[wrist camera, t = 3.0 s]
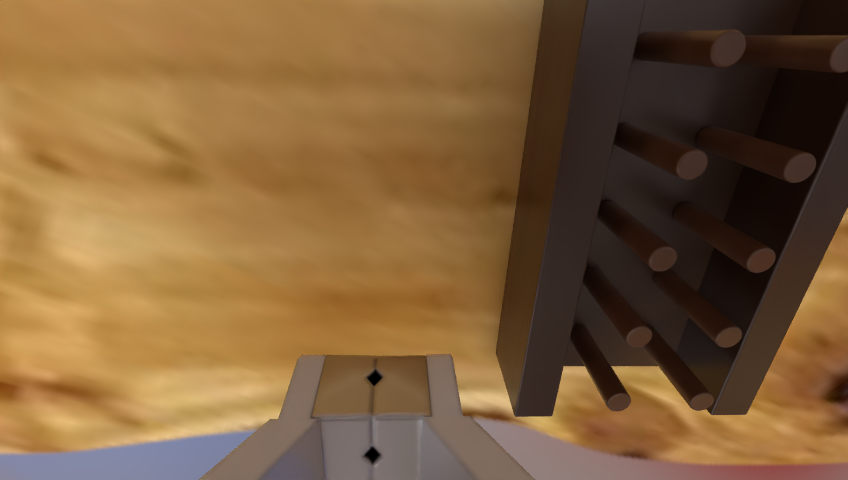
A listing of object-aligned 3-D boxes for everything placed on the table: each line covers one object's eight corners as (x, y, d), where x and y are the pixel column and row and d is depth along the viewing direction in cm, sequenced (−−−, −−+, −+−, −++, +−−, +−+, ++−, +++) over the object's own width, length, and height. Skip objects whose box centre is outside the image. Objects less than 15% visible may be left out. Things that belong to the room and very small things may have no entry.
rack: (495, 352, 21) (521, 442, 17) (547, -24, 14) (616, -53, 10) (690, 352, 22) (768, 439, 17) (827, -10, 15) (1020, -31, 10)
